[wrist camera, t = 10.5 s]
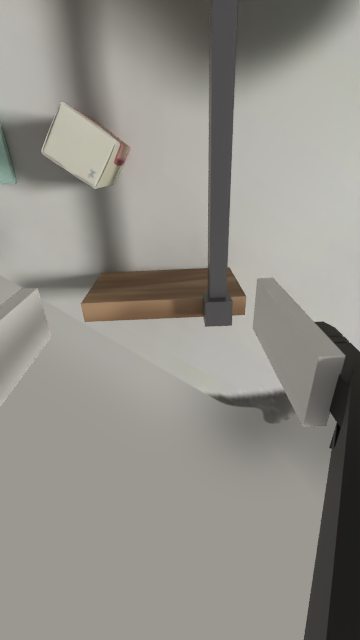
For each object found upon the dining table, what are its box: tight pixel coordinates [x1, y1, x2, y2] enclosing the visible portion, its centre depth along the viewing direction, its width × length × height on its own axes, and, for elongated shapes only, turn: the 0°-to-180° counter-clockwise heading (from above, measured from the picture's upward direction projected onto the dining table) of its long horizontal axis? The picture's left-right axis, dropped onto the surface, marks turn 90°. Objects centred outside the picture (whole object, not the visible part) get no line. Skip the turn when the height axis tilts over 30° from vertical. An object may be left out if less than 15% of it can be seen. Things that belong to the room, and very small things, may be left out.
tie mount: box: [81, 268, 246, 322], centre depth 26 cm, size 30×16×9 cm, turn 2°
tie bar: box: [203, 0, 238, 327], centre depth 21 cm, size 29×2×2 cm, turn 2°
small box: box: [41, 101, 130, 189], centre depth 27 cm, size 5×4×8 cm
